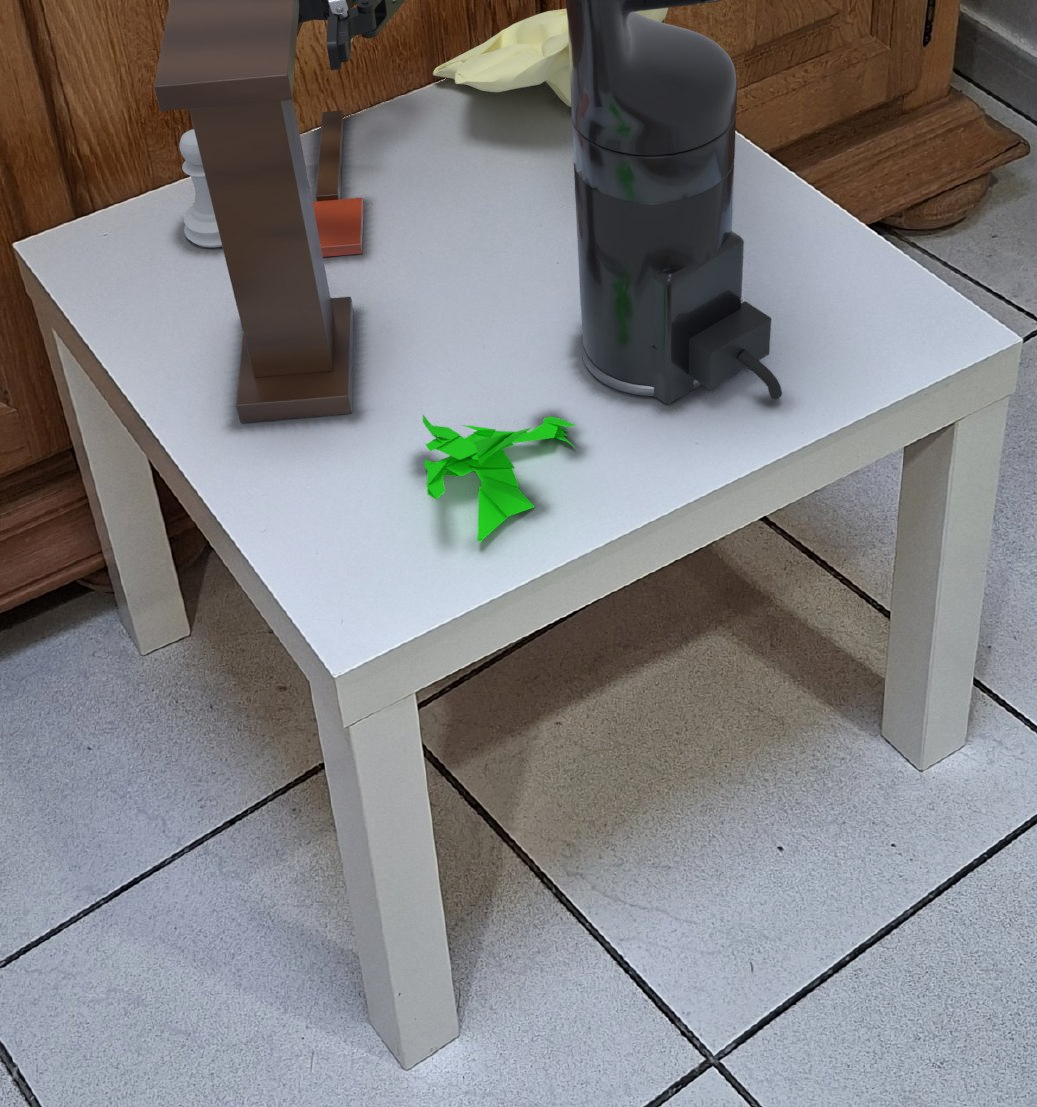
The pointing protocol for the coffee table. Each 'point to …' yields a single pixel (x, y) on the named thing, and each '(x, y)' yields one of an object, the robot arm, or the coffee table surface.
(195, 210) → the chess piece
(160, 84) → the wooden pedestal stand
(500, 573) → the coffee table surface
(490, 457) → the figurine
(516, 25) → the cloth
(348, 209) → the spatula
